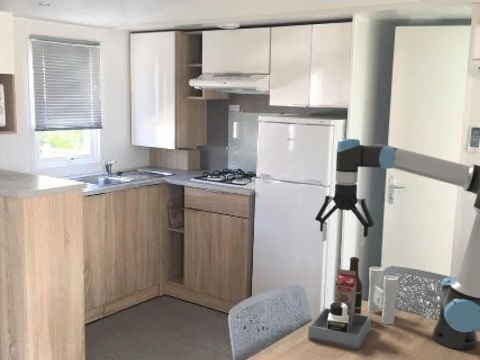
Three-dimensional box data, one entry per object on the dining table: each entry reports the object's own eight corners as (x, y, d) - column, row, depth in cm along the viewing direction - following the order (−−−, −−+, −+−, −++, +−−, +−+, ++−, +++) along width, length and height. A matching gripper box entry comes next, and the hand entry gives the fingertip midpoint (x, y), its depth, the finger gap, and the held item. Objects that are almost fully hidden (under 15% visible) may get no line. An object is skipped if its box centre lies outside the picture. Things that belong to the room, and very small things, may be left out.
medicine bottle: (326, 338, 194) (328, 306, 192) (328, 330, 201) (329, 299, 199) (346, 341, 192) (348, 308, 190) (347, 333, 199) (349, 301, 197)
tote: (370, 329, 206) (371, 316, 205) (358, 349, 188) (359, 336, 187) (323, 320, 213) (324, 307, 213) (308, 339, 195) (308, 325, 195)
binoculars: (364, 308, 227) (367, 266, 224) (376, 308, 228) (379, 266, 226) (385, 325, 210) (388, 280, 208) (397, 324, 211) (401, 279, 209)
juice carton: (336, 322, 209) (339, 266, 206) (353, 325, 207) (357, 268, 204) (332, 328, 203) (336, 271, 200) (350, 331, 201) (354, 273, 198)
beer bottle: (362, 320, 214) (366, 261, 211) (343, 319, 215) (346, 260, 211) (358, 312, 222) (362, 255, 219) (339, 312, 222) (343, 254, 219)
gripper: (384, 185, 187) (381, 245, 190) (314, 179, 197) (312, 236, 200) (380, 187, 180) (376, 250, 183) (308, 181, 191) (305, 240, 193)
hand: (343, 243), depth 192 cm, fingers open, 13 cm apart
